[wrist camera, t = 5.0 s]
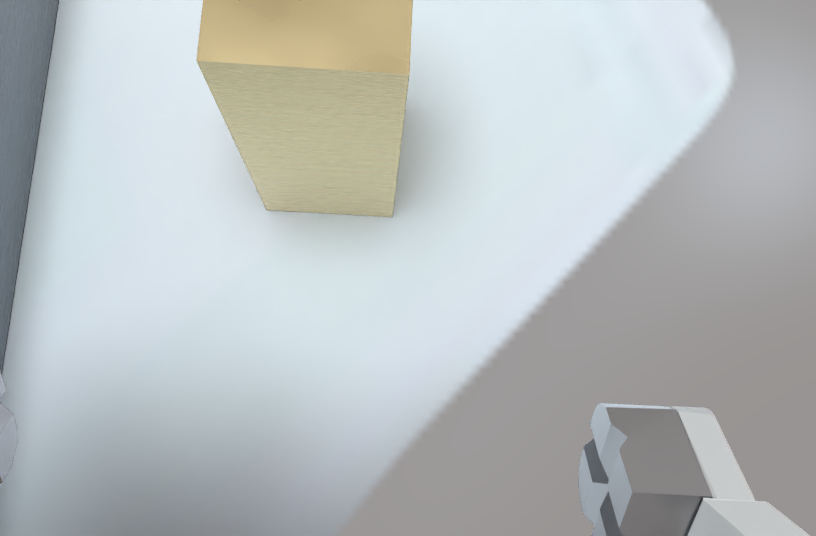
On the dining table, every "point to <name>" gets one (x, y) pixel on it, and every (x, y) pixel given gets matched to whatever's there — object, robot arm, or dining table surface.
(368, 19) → the brass peg
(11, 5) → the grey rectangular block
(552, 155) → the dining table surface
